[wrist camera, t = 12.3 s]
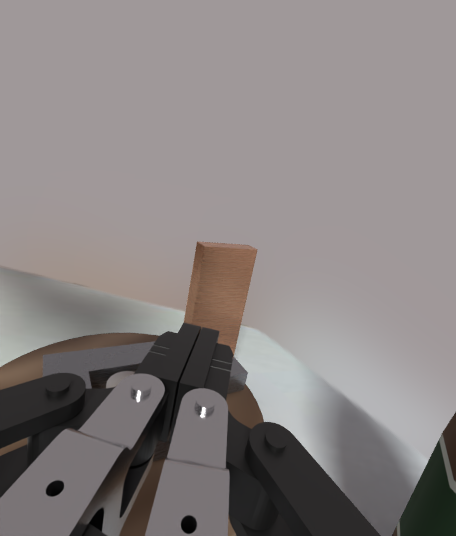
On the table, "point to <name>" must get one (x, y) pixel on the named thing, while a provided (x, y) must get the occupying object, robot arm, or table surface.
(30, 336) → the table surface
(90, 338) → the post base
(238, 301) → the handled square nut
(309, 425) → the table surface
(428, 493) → the beer bottle
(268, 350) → the table surface
